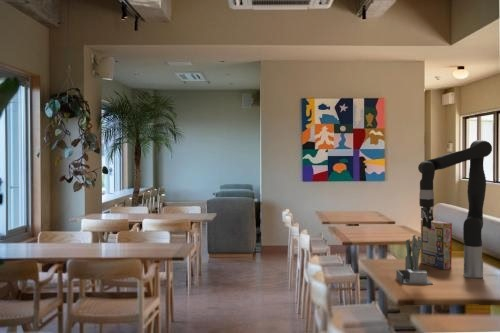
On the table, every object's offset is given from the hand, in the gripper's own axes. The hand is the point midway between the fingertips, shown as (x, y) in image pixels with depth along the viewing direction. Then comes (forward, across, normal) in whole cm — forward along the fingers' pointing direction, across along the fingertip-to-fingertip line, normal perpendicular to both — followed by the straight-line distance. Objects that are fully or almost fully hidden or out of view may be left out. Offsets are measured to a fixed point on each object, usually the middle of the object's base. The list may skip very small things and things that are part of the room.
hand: (426, 227), depth 296 cm
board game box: (+28, -30, +13) cm, 43 cm away
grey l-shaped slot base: (+27, +10, -10) cm, 31 cm away
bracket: (+28, -16, -4) cm, 32 cm away
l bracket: (+27, +10, -8) cm, 30 cm away
